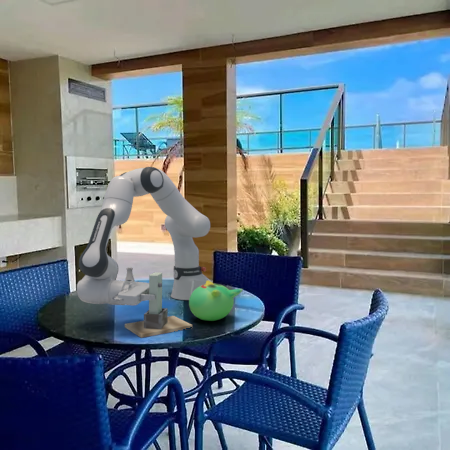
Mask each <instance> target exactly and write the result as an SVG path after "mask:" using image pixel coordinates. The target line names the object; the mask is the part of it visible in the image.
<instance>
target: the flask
mask: <svg viewBox="0 0 450 450" xmlns="http://www.w3.org/2000/svg"><path fill="white" fill-rule="evenodd" d="M133 268H134V267H127V268H126V277H125V279H124V281H125V280H133V282H136V280H135V278H134V275H133Z"/></svg>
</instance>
